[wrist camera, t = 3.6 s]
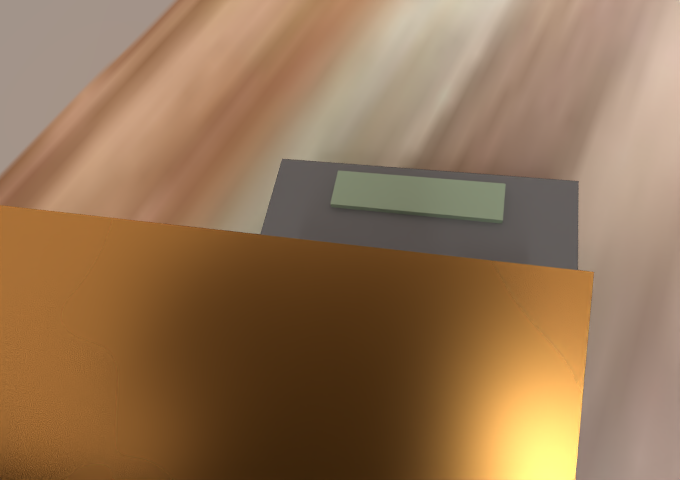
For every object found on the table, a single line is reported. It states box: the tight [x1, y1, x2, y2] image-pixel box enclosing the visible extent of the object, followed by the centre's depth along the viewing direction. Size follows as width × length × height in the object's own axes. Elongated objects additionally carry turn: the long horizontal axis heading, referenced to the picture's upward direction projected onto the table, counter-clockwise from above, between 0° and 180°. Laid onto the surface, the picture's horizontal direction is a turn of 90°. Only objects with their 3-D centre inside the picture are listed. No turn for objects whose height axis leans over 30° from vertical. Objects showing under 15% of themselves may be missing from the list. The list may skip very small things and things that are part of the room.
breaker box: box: [260, 159, 578, 480], centre depth 14 cm, size 10×9×5 cm
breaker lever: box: [0, 205, 594, 480], centre depth 8 cm, size 2×4×11 cm, turn 77°
